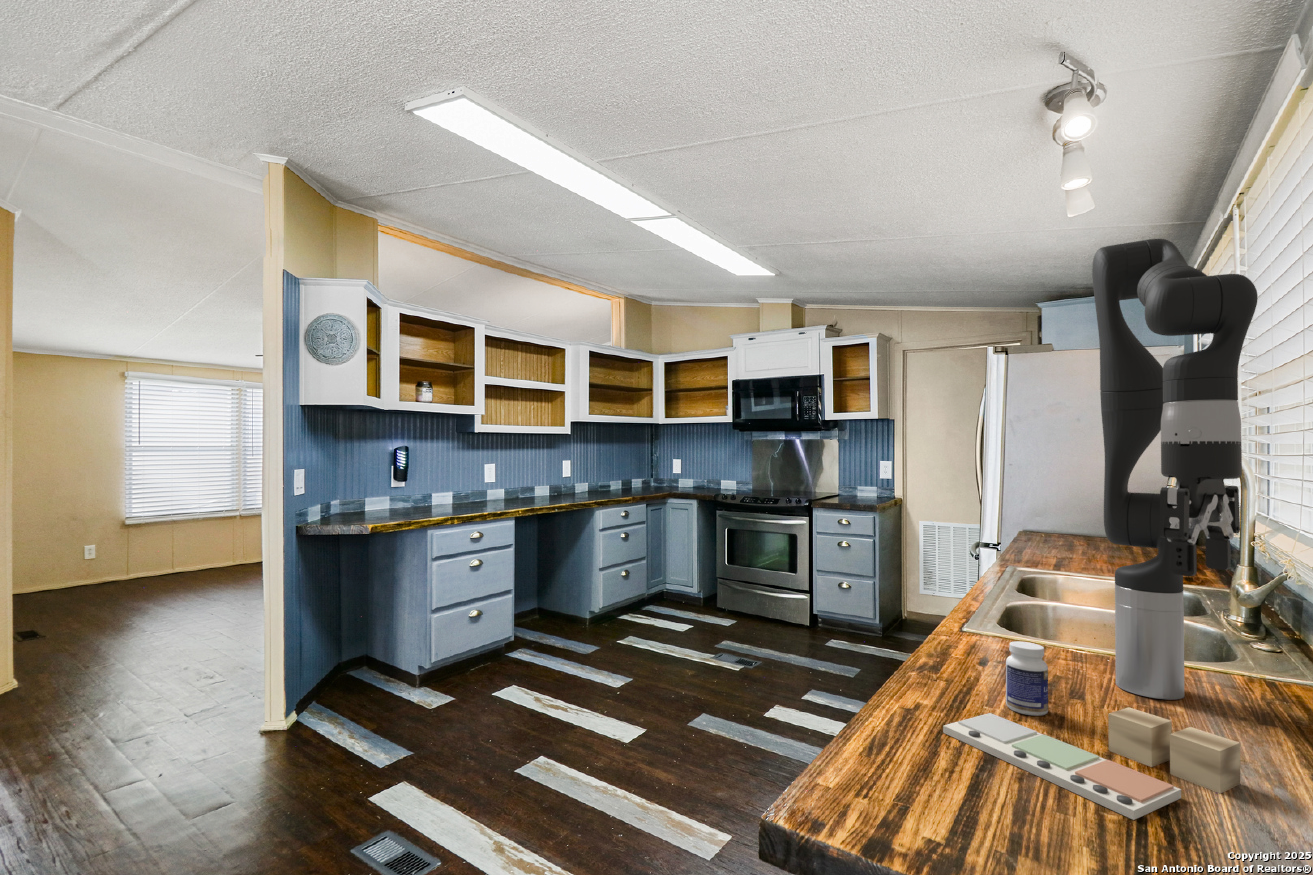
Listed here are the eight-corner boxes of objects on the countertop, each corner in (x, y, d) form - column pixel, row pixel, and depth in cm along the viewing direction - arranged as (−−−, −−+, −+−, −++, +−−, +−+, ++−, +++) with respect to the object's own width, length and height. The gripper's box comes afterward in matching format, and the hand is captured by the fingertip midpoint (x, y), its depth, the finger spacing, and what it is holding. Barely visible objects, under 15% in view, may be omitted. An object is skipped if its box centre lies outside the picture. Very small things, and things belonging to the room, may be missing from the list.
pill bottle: (1054, 718, 95) (1054, 651, 96) (1013, 715, 97) (1012, 648, 97) (1039, 704, 101) (1039, 640, 101) (1000, 700, 102) (1000, 638, 102)
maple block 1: (1129, 743, 88) (1128, 707, 88) (1172, 759, 83) (1171, 720, 83) (1108, 751, 85) (1108, 713, 85) (1151, 767, 81) (1151, 727, 81)
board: (989, 719, 95) (989, 710, 95) (1181, 797, 73) (1180, 786, 73) (943, 732, 90) (943, 723, 90) (1133, 819, 69) (1133, 807, 69)
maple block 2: (1190, 766, 81) (1190, 726, 81) (1240, 784, 77) (1240, 742, 77) (1170, 774, 79) (1169, 734, 79) (1220, 794, 75) (1219, 750, 75)
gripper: (1191, 440, 85) (1192, 562, 84) (1134, 438, 78) (1135, 571, 78) (1265, 439, 78) (1267, 572, 78) (1209, 437, 71) (1211, 583, 71)
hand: (1201, 571), depth 78 cm, fingers open, 8 cm apart
